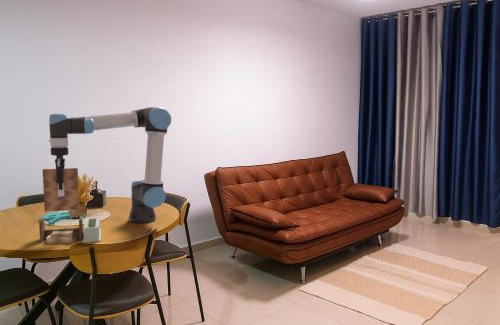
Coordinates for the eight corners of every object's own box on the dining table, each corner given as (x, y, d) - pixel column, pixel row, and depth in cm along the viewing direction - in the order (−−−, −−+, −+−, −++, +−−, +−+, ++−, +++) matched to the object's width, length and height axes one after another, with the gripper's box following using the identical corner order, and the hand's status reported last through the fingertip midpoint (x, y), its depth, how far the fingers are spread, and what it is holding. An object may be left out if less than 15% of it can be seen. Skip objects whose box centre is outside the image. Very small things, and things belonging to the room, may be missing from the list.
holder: (101, 230, 208) (101, 217, 207) (100, 241, 190) (100, 227, 189) (84, 231, 206) (84, 218, 205) (82, 242, 187) (81, 228, 187)
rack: (82, 235, 199) (82, 215, 198) (81, 239, 192) (81, 219, 191) (42, 237, 193) (42, 217, 192) (40, 242, 186) (39, 222, 185)
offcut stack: (76, 239, 193) (75, 230, 193) (74, 242, 189) (73, 233, 188) (49, 240, 191) (48, 231, 190) (46, 243, 186) (46, 234, 185)
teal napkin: (85, 219, 231) (68, 213, 244) (85, 215, 231) (68, 209, 244) (50, 225, 216) (34, 219, 229) (50, 221, 216) (34, 215, 228)
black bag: (89, 204, 268) (89, 177, 266) (106, 203, 270) (106, 177, 267) (82, 209, 253) (82, 181, 251) (100, 209, 254) (100, 181, 252)
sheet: (79, 208, 195) (77, 168, 193) (79, 209, 193) (77, 168, 191) (45, 210, 190) (43, 169, 188) (44, 211, 189) (42, 169, 186)
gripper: (52, 145, 194) (55, 193, 197) (48, 148, 180) (50, 199, 183) (69, 145, 197) (71, 192, 199) (66, 147, 182) (68, 198, 185)
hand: (61, 195), depth 191 cm, fingers closed on sheet, 2 cm apart
